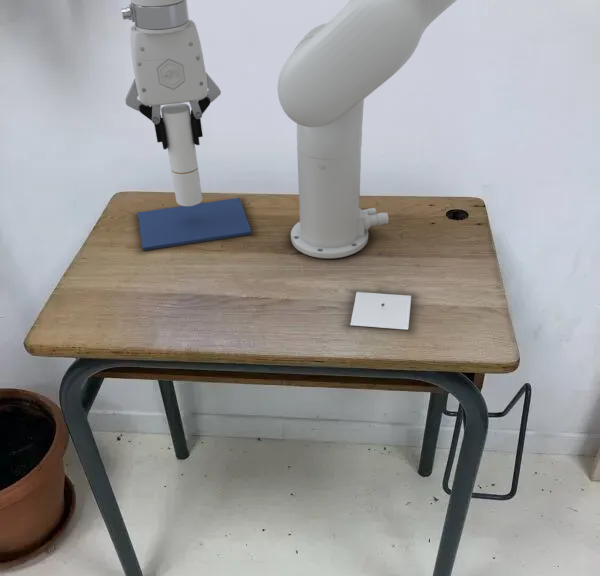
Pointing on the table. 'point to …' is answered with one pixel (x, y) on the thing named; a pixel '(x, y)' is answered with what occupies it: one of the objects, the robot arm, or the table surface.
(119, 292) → the table surface
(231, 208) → the cloth mat
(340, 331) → the table surface
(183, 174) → the tube
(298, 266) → the table surface
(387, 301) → the white piece
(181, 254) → the table surface
